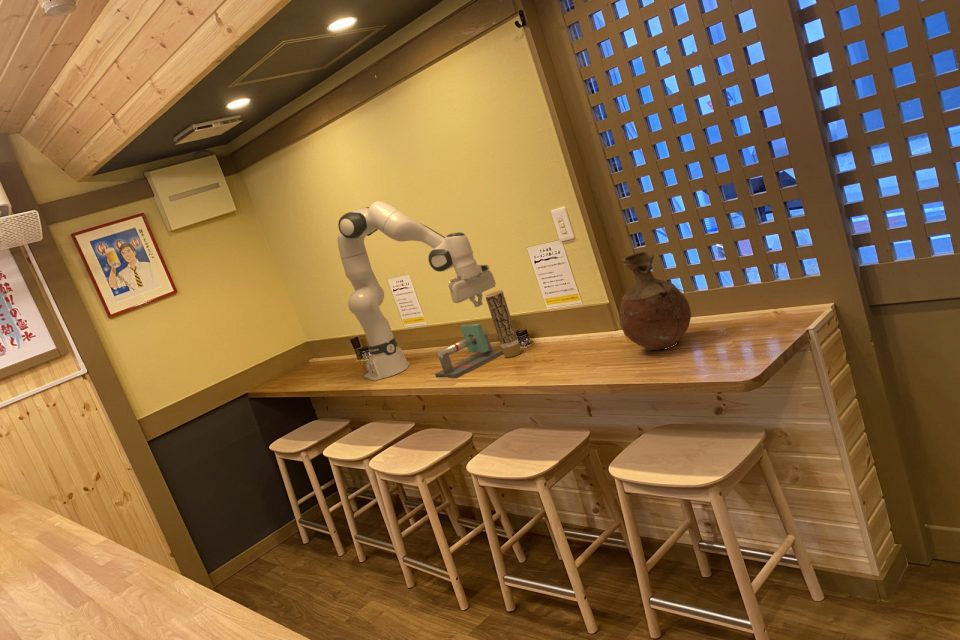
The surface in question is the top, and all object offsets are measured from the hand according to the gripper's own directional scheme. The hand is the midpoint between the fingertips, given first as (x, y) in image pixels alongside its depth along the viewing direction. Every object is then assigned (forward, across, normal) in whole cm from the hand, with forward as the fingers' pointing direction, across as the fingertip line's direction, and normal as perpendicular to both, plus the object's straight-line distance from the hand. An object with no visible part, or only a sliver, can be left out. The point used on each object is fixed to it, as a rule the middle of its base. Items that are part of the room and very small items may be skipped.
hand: (479, 306), depth 284 cm
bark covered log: (+20, -2, -14) cm, 25 cm away
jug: (+21, +5, -80) cm, 83 cm away
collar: (+16, -7, 0) cm, 18 cm away
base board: (+20, -13, 0) cm, 24 cm away
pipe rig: (+18, -13, 0) cm, 22 cm away
